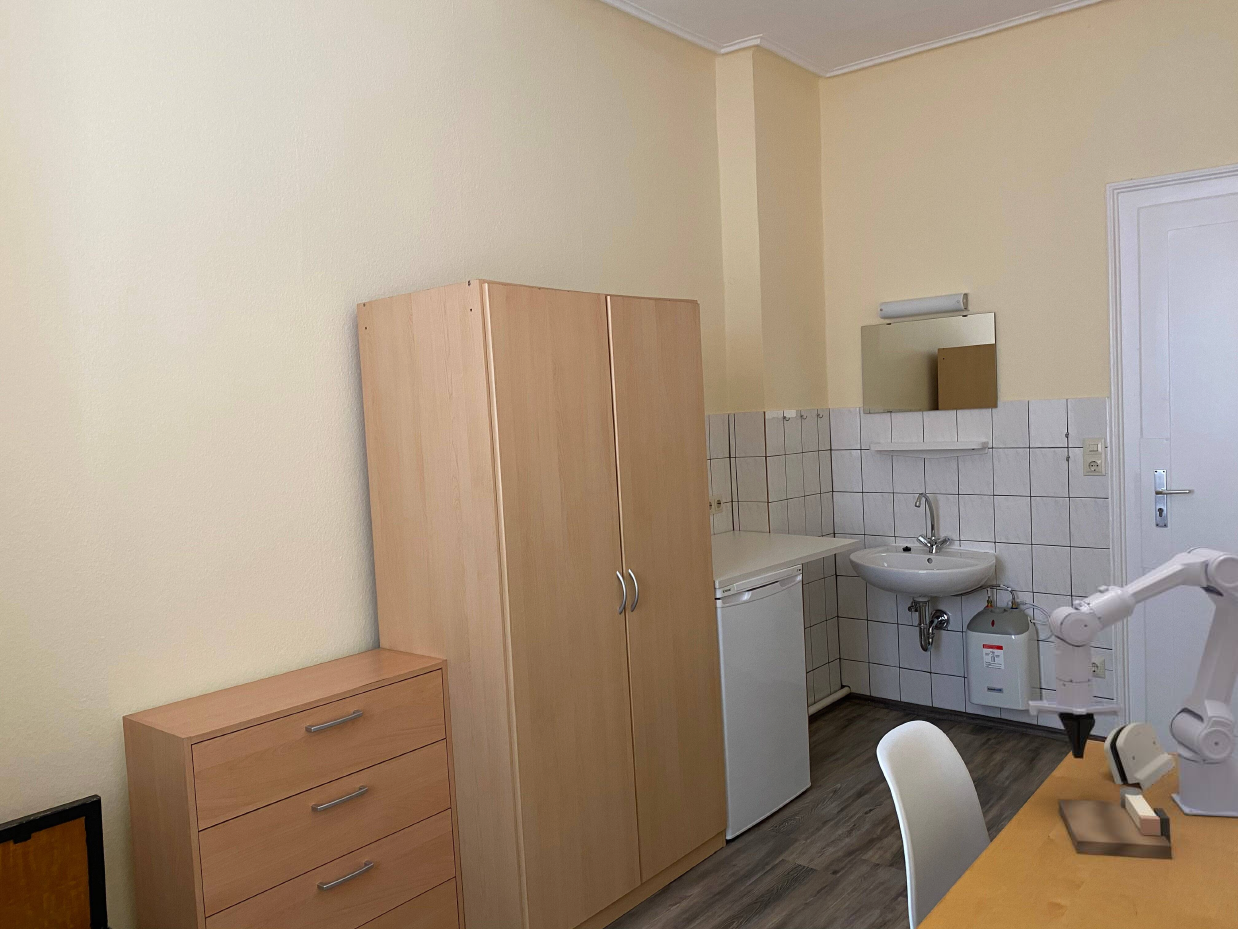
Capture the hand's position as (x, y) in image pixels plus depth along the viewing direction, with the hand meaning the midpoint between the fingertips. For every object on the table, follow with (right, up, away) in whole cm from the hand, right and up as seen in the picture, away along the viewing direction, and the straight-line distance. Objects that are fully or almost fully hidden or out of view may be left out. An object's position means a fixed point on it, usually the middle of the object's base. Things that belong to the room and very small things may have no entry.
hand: (1077, 756), depth 159 cm
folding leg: (+6, -7, -9) cm, 13 cm away
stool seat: (+1, -10, -9) cm, 13 cm away
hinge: (+19, -8, +15) cm, 26 cm away
